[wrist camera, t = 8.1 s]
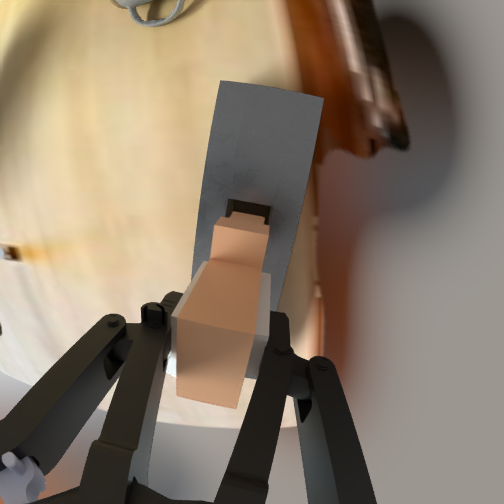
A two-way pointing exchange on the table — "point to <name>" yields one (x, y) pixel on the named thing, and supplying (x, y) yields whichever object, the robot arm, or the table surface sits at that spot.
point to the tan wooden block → (222, 314)
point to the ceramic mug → (133, 0)
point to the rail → (258, 167)
